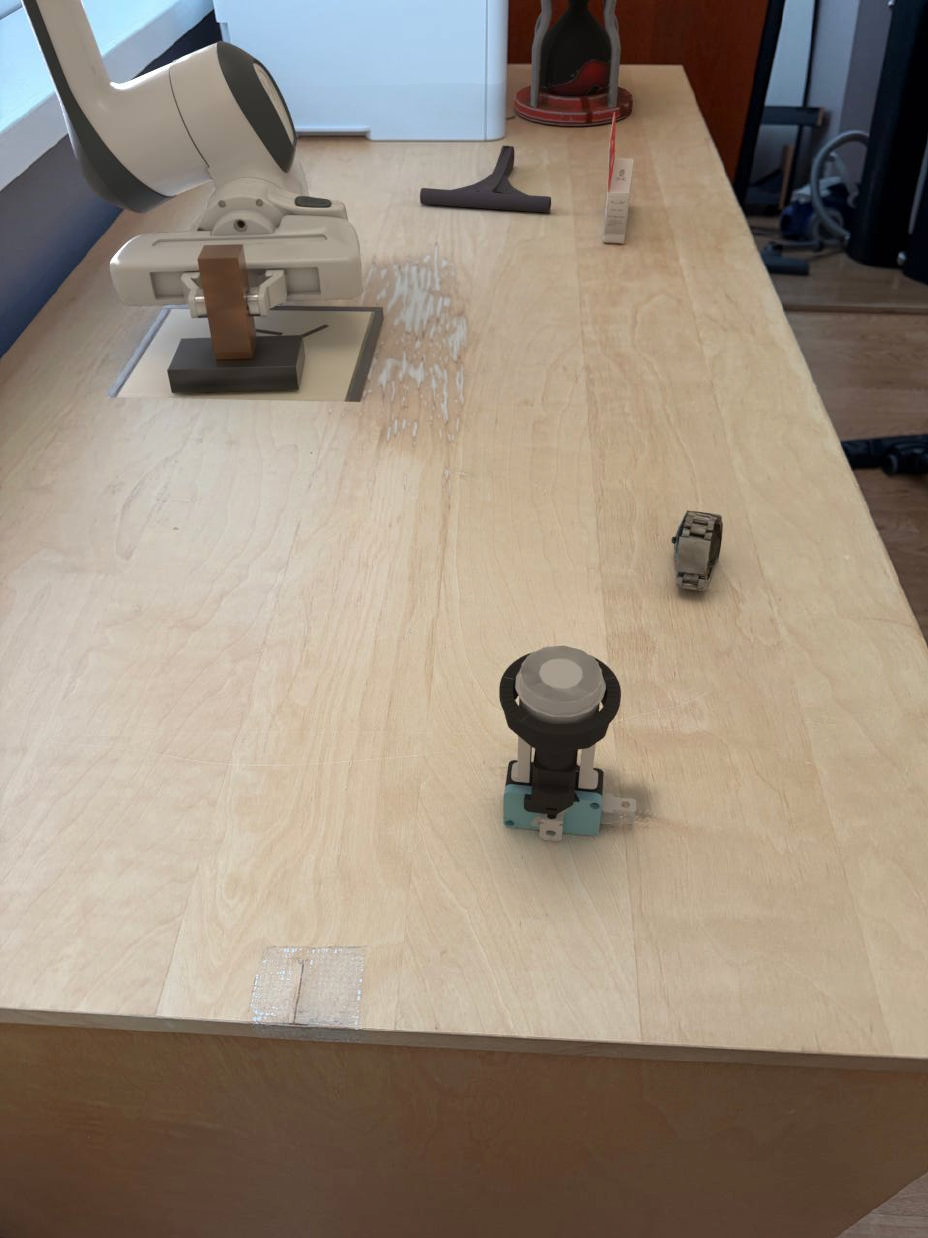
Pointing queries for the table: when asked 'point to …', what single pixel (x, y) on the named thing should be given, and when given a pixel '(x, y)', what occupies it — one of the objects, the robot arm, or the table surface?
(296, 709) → the table surface
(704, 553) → the wristwatch
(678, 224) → the table surface
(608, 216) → the ink cartridge box
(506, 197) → the squeegee
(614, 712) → the push button
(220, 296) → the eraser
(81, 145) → the robot arm
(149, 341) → the whiteboard
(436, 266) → the table surface
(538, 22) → the hourglass
